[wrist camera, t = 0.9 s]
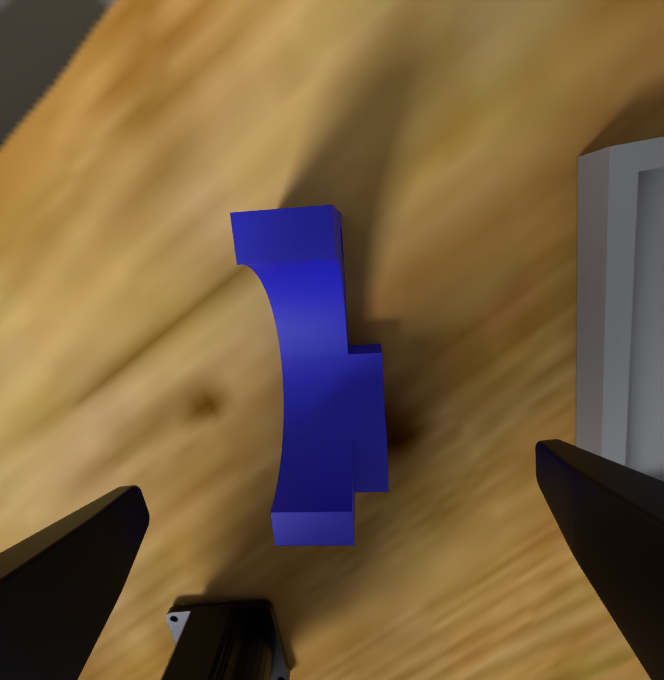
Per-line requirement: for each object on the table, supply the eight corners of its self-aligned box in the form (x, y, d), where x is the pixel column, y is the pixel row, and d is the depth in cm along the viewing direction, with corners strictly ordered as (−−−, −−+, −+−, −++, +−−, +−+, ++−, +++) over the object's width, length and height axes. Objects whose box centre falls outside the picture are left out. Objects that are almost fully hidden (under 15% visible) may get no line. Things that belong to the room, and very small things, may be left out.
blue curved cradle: (383, 453, 20) (394, 545, 14) (298, 455, 20) (275, 545, 14) (375, 210, 17) (384, 200, 11) (273, 218, 17) (229, 212, 11)
